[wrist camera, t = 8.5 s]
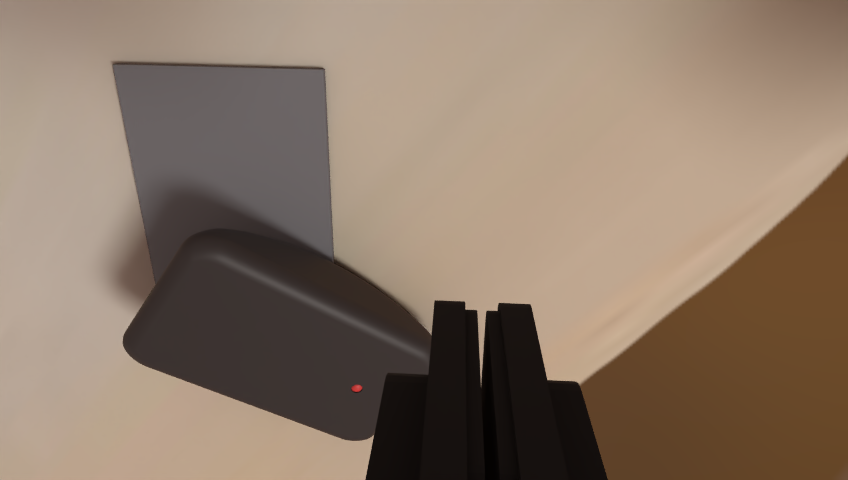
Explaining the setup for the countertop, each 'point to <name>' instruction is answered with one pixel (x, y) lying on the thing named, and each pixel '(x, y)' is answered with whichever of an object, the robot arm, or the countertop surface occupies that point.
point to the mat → (228, 153)
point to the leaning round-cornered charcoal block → (277, 331)
